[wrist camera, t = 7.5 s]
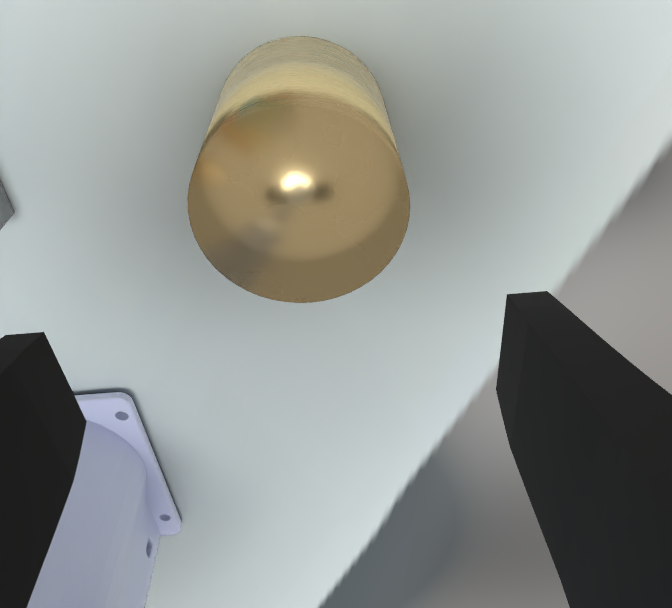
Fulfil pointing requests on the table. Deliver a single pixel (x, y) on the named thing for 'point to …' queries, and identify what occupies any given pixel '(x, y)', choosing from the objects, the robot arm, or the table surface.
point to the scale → (4, 207)
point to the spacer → (299, 175)
